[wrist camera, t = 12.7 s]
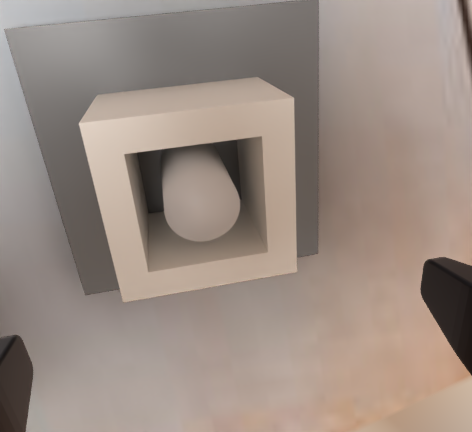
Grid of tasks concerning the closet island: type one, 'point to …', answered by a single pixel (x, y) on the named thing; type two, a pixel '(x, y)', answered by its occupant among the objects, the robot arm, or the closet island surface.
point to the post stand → (157, 76)
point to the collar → (186, 134)
